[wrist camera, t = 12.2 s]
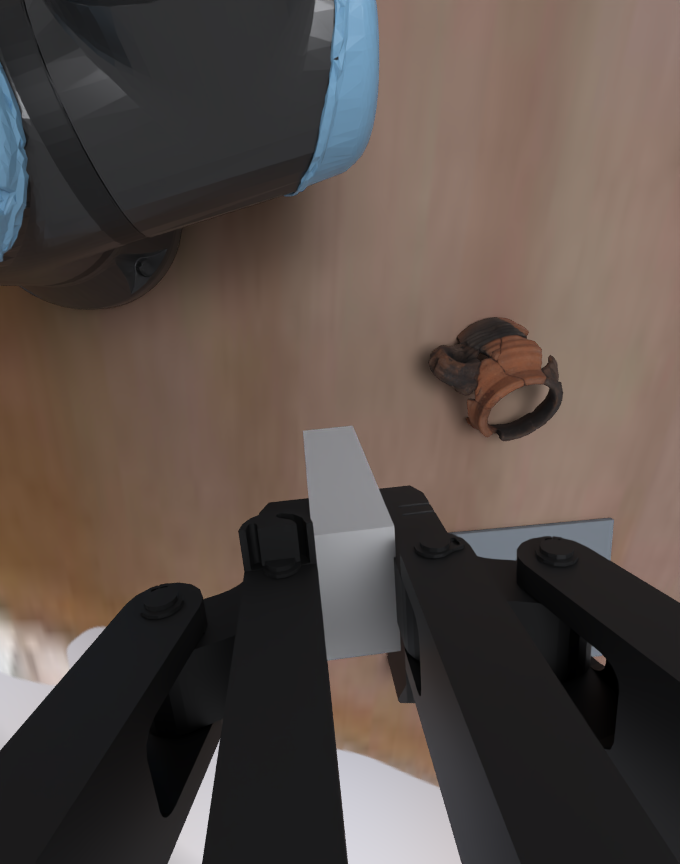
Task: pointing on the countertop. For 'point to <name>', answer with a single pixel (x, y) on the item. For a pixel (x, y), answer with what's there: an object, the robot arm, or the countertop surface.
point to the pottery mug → (498, 374)
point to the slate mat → (509, 539)
